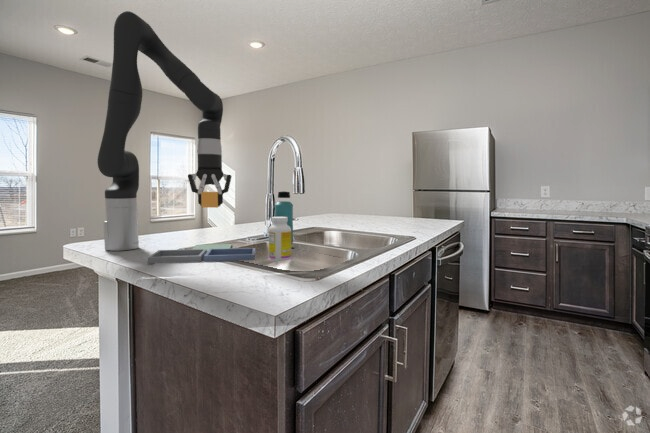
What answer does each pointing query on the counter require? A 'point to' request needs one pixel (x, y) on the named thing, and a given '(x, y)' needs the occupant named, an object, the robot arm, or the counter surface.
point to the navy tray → (230, 254)
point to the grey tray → (177, 256)
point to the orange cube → (209, 199)
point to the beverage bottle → (285, 210)
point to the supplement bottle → (279, 239)
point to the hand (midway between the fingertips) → (210, 205)
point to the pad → (213, 246)
